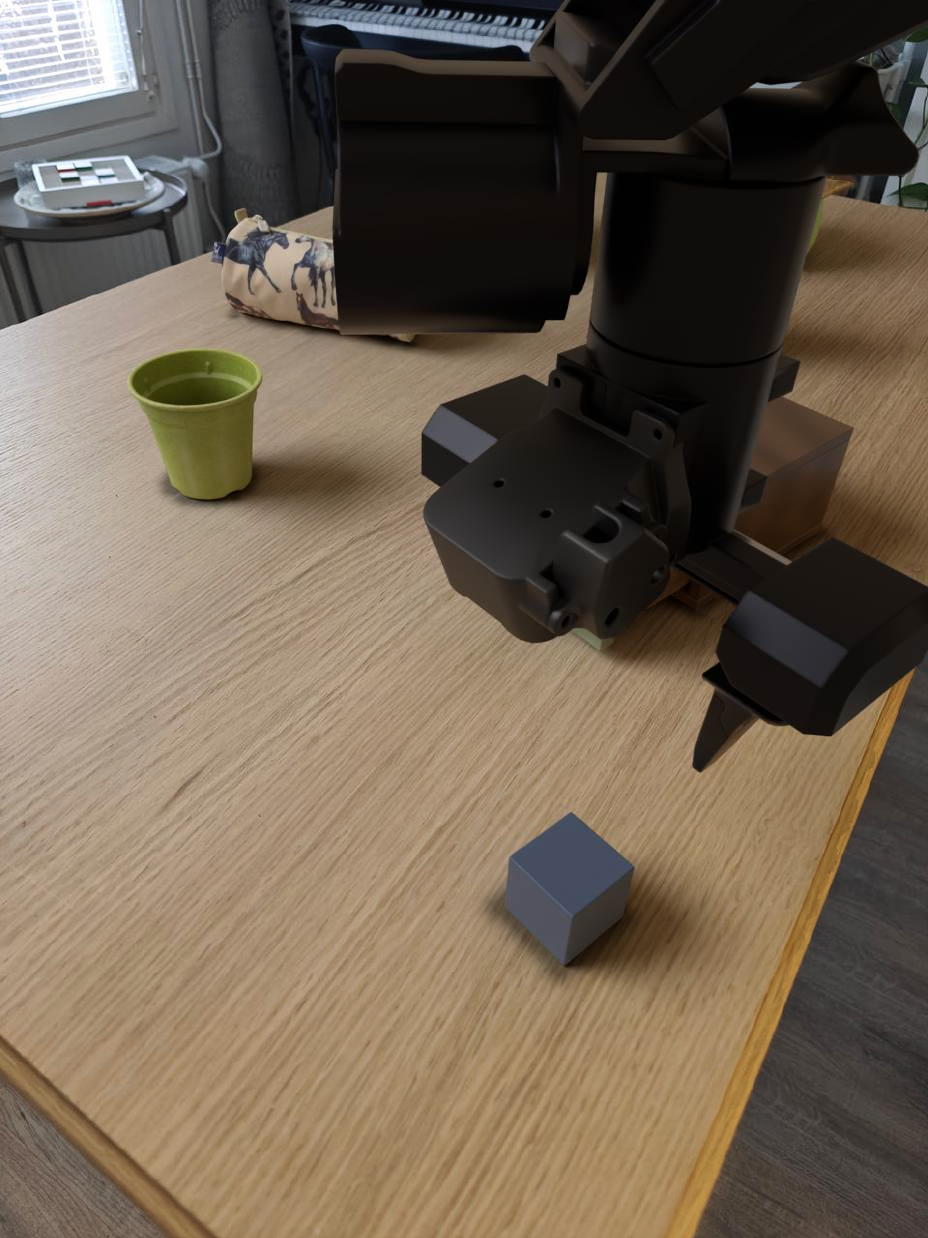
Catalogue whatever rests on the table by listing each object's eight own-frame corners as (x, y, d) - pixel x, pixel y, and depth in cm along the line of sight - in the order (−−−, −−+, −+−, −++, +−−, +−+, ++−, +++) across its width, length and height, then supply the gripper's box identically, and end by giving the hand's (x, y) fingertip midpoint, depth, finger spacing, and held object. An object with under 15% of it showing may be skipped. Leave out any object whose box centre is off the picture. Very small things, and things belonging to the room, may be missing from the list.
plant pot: (281, 449, 76) (270, 348, 70) (266, 514, 68) (251, 406, 63) (165, 448, 75) (144, 346, 70) (137, 513, 68) (111, 405, 62)
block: (623, 916, 44) (635, 866, 41) (563, 967, 42) (572, 918, 39) (563, 861, 46) (571, 810, 43) (503, 907, 44) (508, 856, 41)
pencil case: (215, 322, 94) (200, 223, 88) (257, 294, 101) (246, 198, 94) (414, 359, 89) (413, 256, 83) (445, 326, 95) (447, 228, 89)
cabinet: (695, 610, 61) (722, 500, 56) (569, 531, 68) (582, 426, 62) (819, 531, 69) (854, 427, 63) (695, 467, 75) (717, 367, 70)
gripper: (284, 288, 29) (319, 658, 39) (792, 580, 18) (659, 985, 28) (543, 223, 34) (515, 560, 45) (1046, 416, 24) (859, 802, 34)
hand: (614, 697), depth 38 cm, fingers open, 9 cm apart
